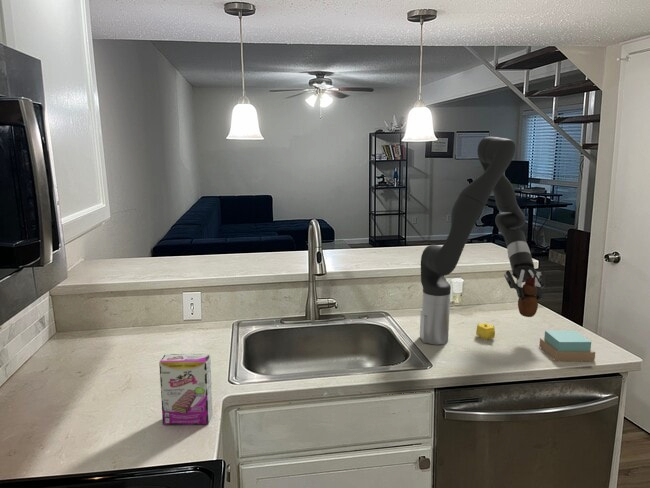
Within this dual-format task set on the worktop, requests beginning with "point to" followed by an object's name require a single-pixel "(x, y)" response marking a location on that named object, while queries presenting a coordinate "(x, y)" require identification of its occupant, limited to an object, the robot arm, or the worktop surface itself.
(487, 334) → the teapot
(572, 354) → the tower base
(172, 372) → the candy bar box
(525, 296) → the wooden figurine
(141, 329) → the worktop surface
